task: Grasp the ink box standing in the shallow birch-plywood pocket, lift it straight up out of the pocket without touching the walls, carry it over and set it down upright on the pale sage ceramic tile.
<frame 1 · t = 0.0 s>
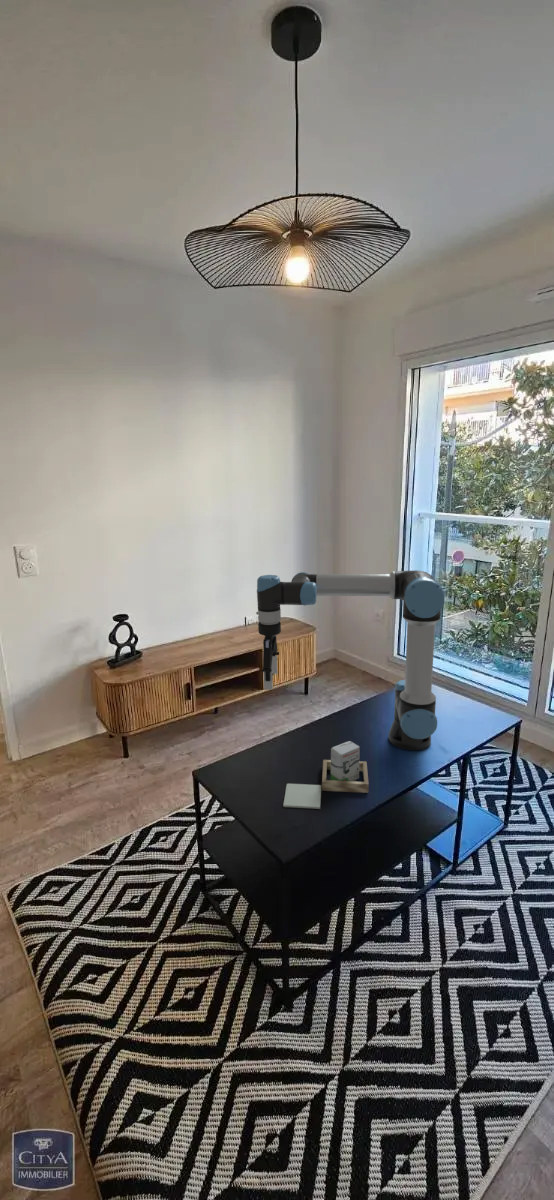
hand: (271, 681, 176), 28 cm above the table, fingers open, 13 cm apart
pocket: (344, 779, 167), on the table
tile: (302, 796, 159), on the table
ink box: (344, 780, 167), resting in pocket
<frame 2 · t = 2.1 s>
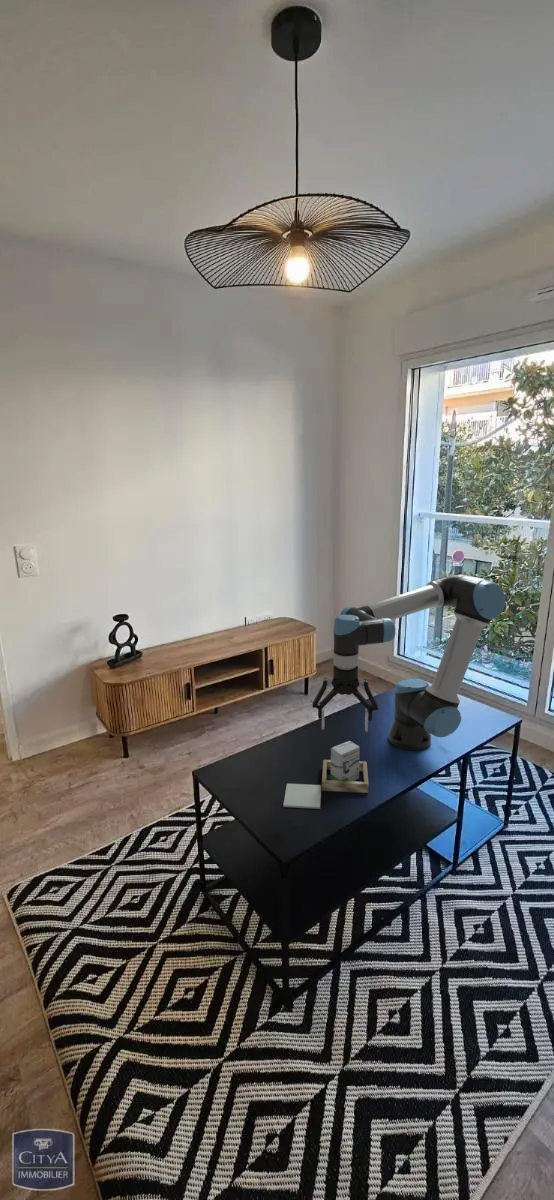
hand: (344, 728, 162), 18 cm above the table, fingers open, 13 cm apart
nothing on the table moved.
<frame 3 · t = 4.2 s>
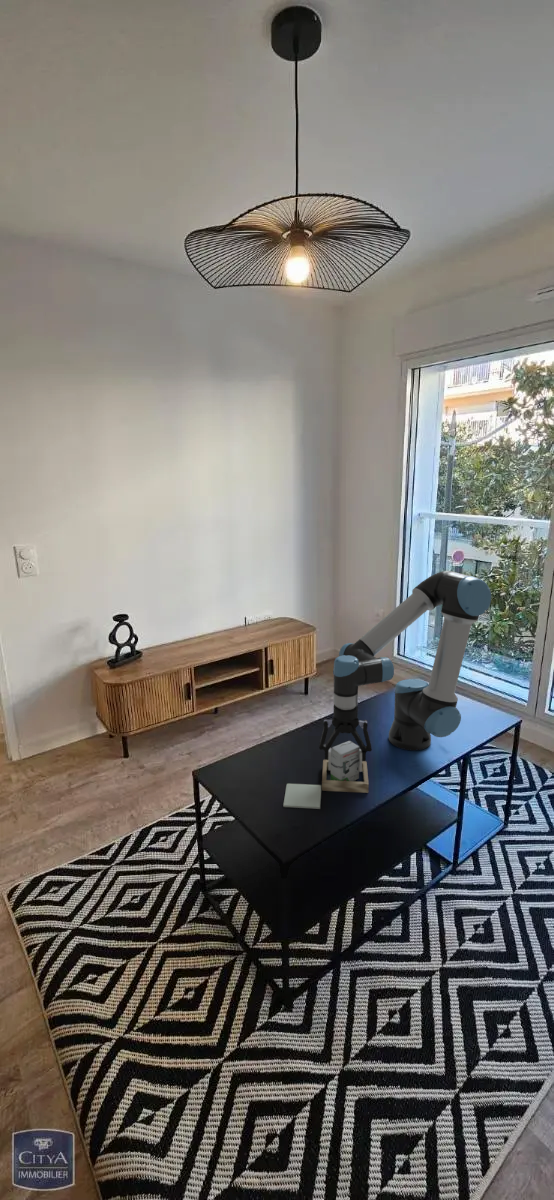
hand: (345, 768, 166), 4 cm above the table, fingers closed on ink box, 9 cm apart
ink box: (344, 780, 167), resting in pocket, touching gripper
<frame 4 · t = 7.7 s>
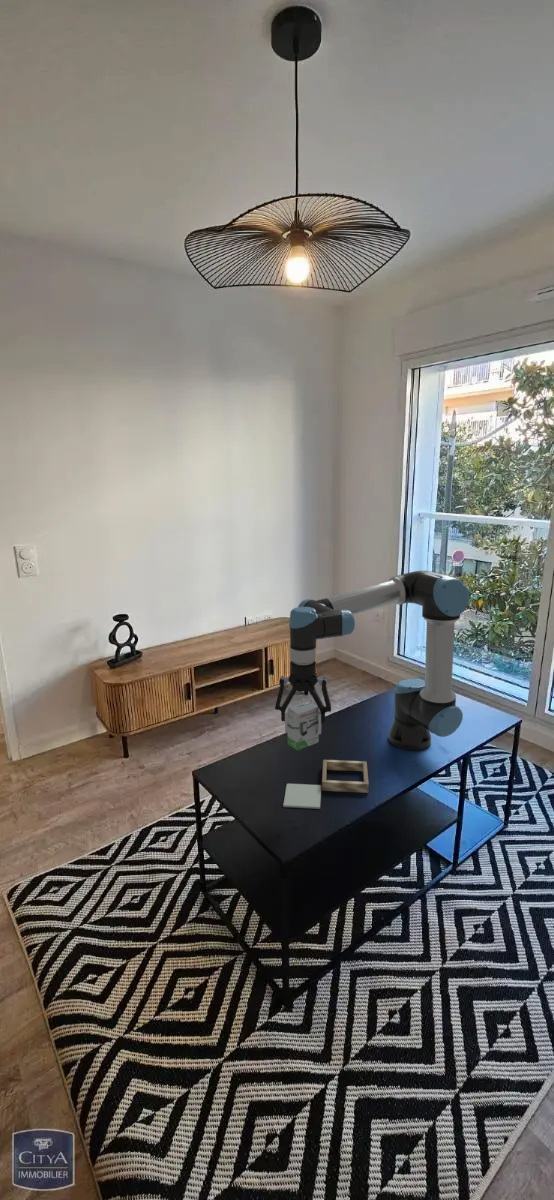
hand: (303, 731, 154), 22 cm above the table, fingers closed on ink box, 9 cm apart
ink box: (303, 743, 155), point 18 cm above the table, touching gripper
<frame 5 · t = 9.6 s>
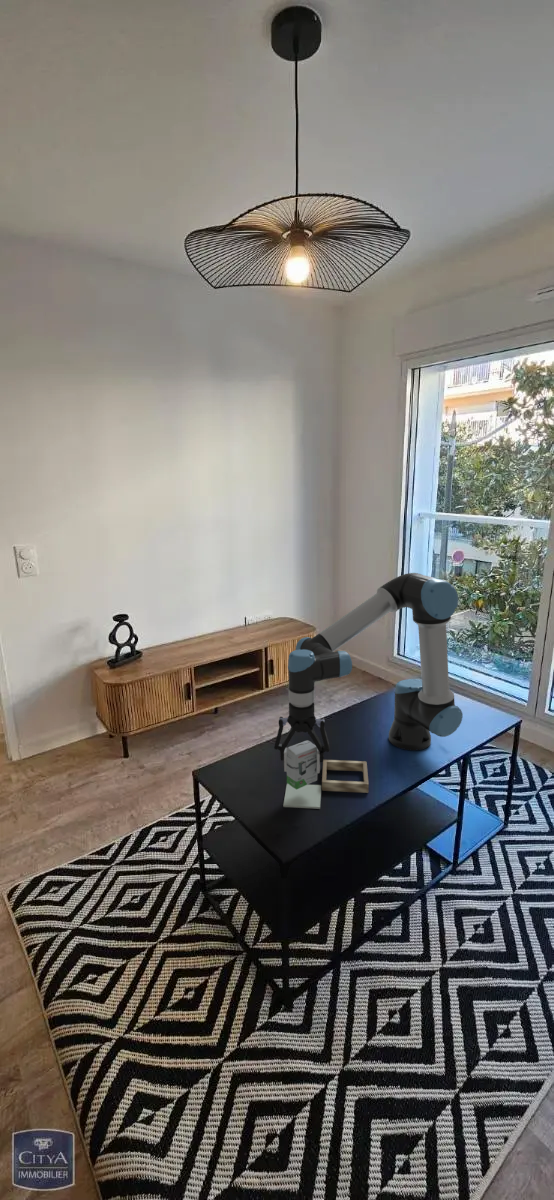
hand: (302, 769, 156), 9 cm above the table, fingers closed on ink box, 9 cm apart
ink box: (302, 782, 157), point 5 cm above the table, touching gripper
when the fingers open (5 cm above the table, at t = 11.2 s): ink box stays where it is, resting on tile.
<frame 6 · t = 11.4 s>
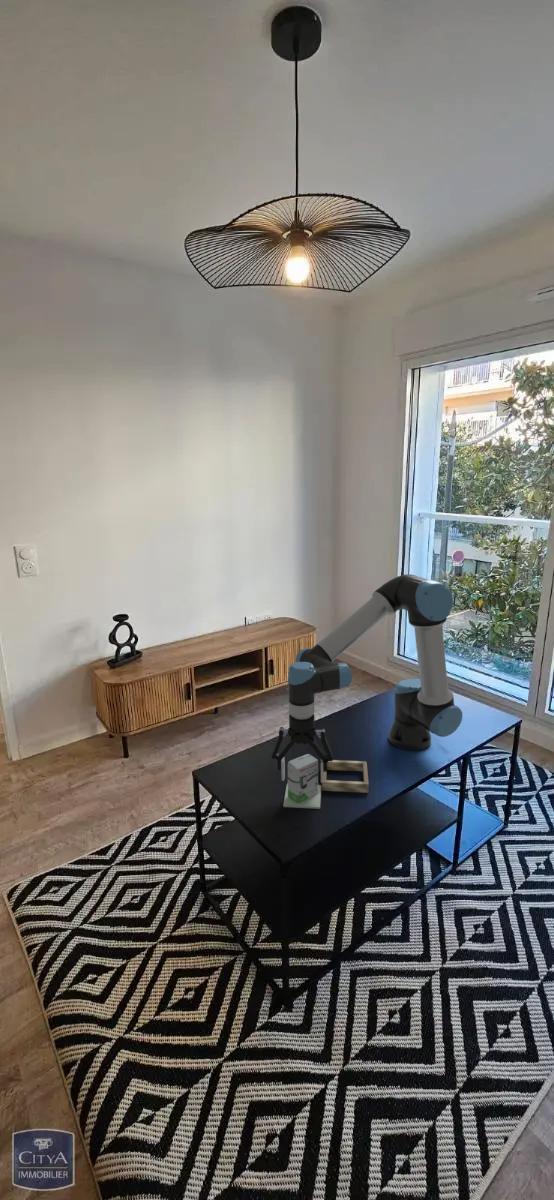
hand: (302, 779, 157), 6 cm above the table, fingers open, 11 cm apart
ink box: (303, 795, 159), resting on tile
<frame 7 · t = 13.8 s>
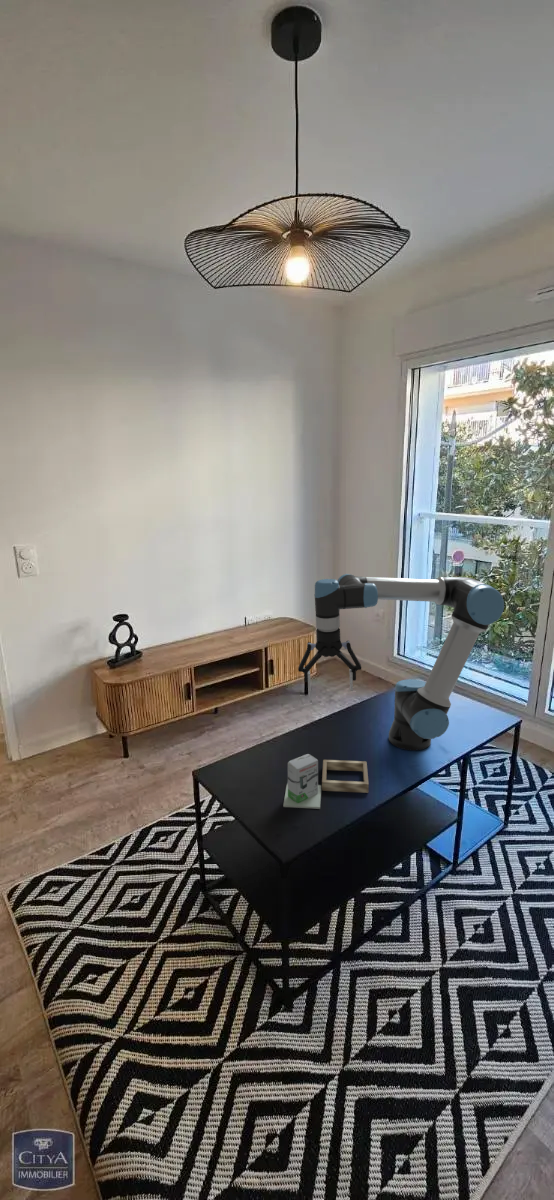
hand: (330, 690, 168), 28 cm above the table, fingers open, 13 cm apart
nothing on the table moved.
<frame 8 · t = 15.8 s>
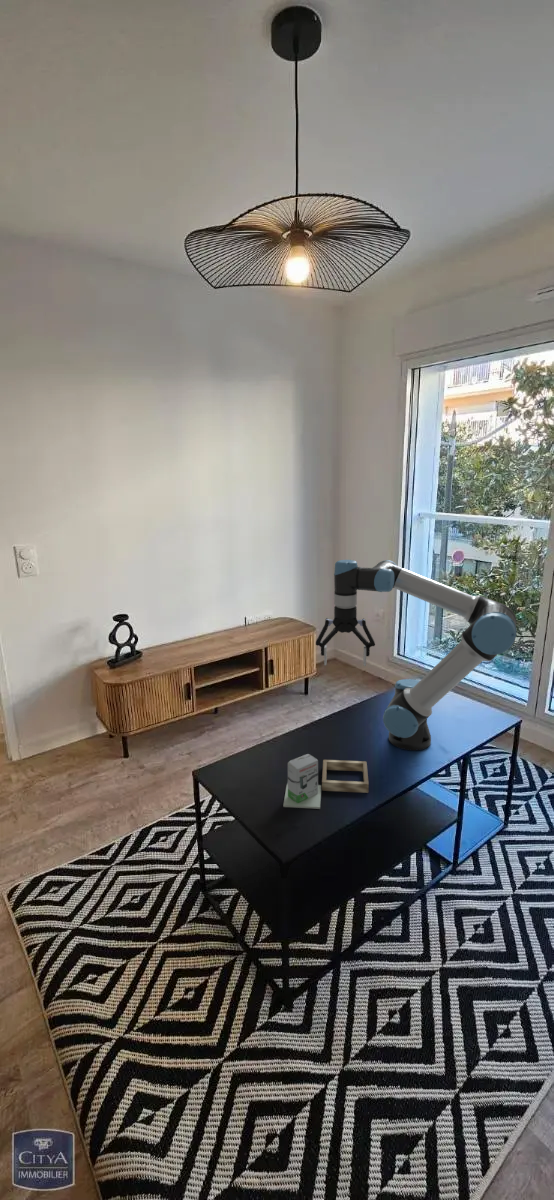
hand: (344, 664, 179), 32 cm above the table, fingers open, 13 cm apart
nothing on the table moved.
at the end: ink box 0.1 cm from the tile (horizontally); ink box tilted 0°; ink box touching tile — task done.
